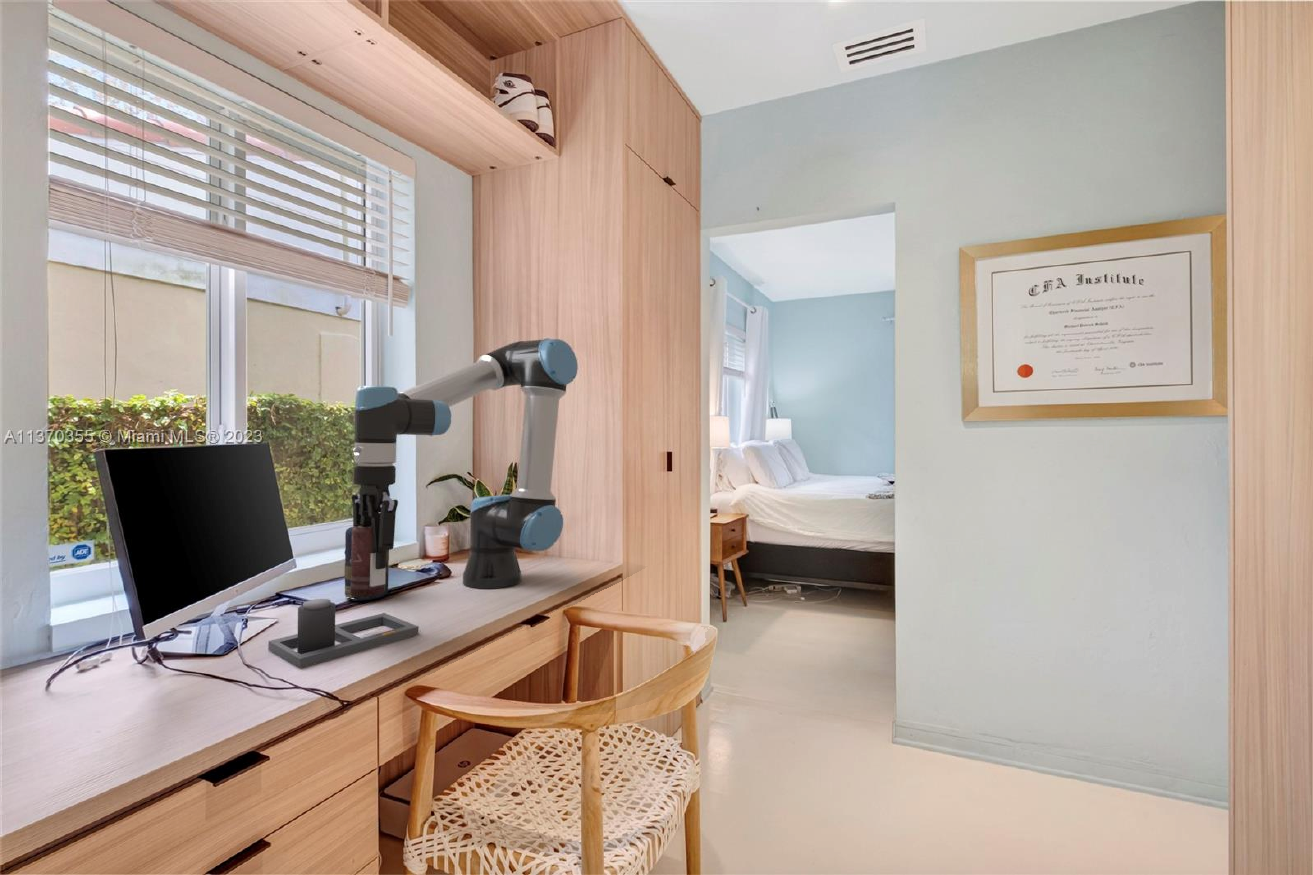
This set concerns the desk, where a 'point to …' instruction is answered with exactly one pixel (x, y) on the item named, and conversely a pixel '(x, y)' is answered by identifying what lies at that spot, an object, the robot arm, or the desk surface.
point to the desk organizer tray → (345, 640)
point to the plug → (316, 625)
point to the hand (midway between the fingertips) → (372, 582)
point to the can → (362, 564)
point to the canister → (348, 566)
